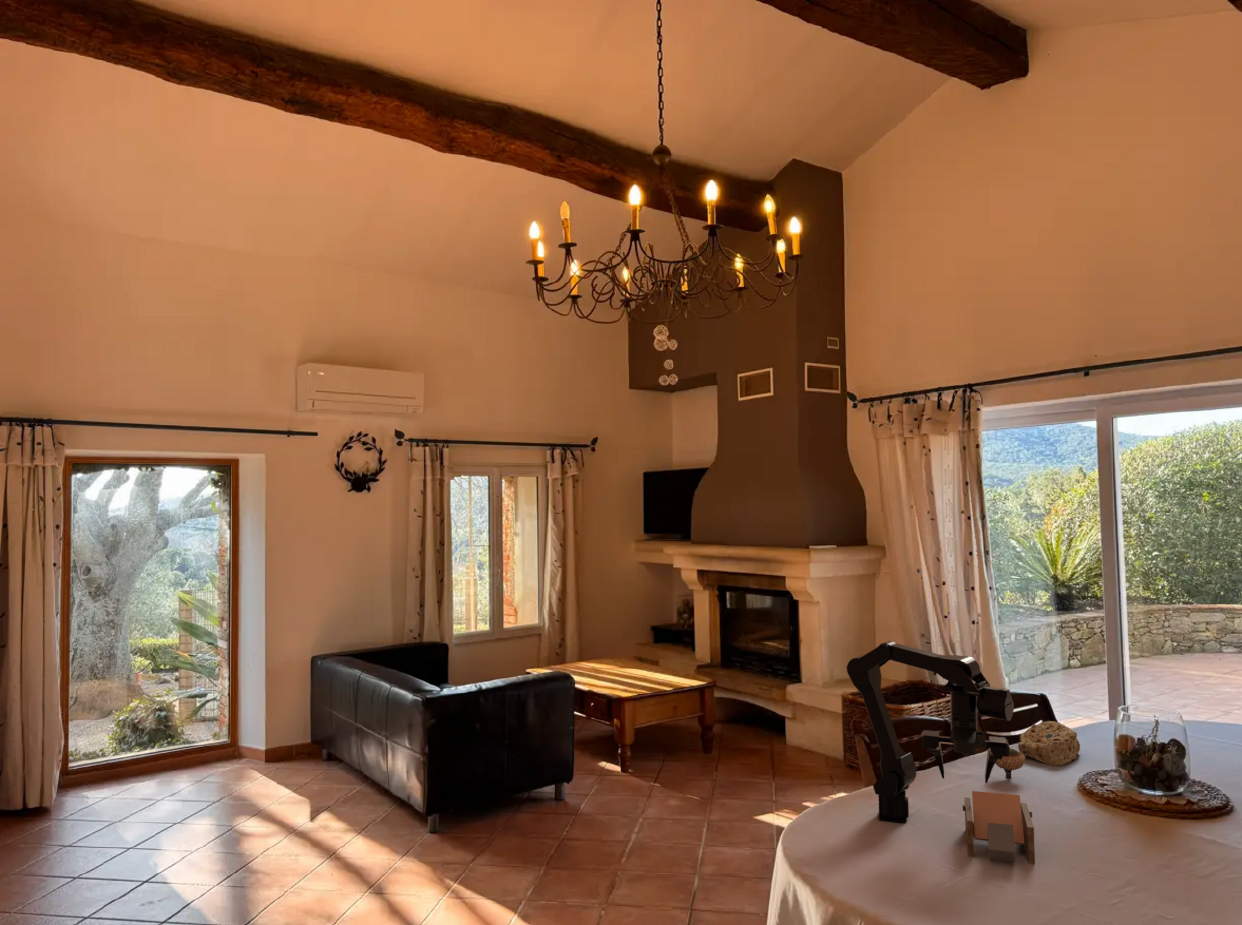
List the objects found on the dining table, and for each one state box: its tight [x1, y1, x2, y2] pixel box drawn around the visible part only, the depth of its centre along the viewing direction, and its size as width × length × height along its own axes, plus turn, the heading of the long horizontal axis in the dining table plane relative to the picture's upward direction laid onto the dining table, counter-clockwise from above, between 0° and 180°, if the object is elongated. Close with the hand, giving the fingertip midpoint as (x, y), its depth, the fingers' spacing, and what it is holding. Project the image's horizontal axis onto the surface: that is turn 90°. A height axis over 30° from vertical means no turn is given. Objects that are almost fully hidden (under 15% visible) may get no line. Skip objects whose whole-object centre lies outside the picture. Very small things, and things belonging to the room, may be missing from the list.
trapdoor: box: [971, 790, 1024, 846], centre depth 195 cm, size 10×11×5 cm
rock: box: [1017, 720, 1081, 767], centre depth 257 cm, size 21×14×10 cm
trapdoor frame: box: [962, 796, 1036, 865], centre depth 193 cm, size 14×15×8 cm
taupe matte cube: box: [987, 823, 1016, 865], centre depth 186 cm, size 5×5×6 cm
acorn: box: [994, 746, 1026, 781], centre depth 236 cm, size 8×8×10 cm
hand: (964, 780), depth 200 cm, fingers open, 9 cm apart
